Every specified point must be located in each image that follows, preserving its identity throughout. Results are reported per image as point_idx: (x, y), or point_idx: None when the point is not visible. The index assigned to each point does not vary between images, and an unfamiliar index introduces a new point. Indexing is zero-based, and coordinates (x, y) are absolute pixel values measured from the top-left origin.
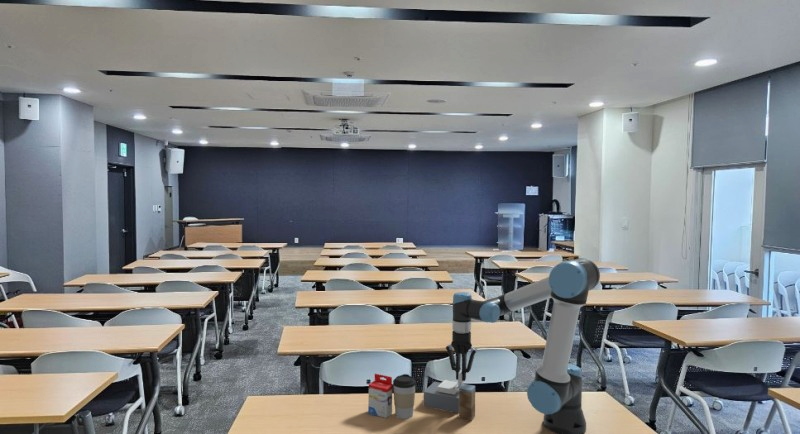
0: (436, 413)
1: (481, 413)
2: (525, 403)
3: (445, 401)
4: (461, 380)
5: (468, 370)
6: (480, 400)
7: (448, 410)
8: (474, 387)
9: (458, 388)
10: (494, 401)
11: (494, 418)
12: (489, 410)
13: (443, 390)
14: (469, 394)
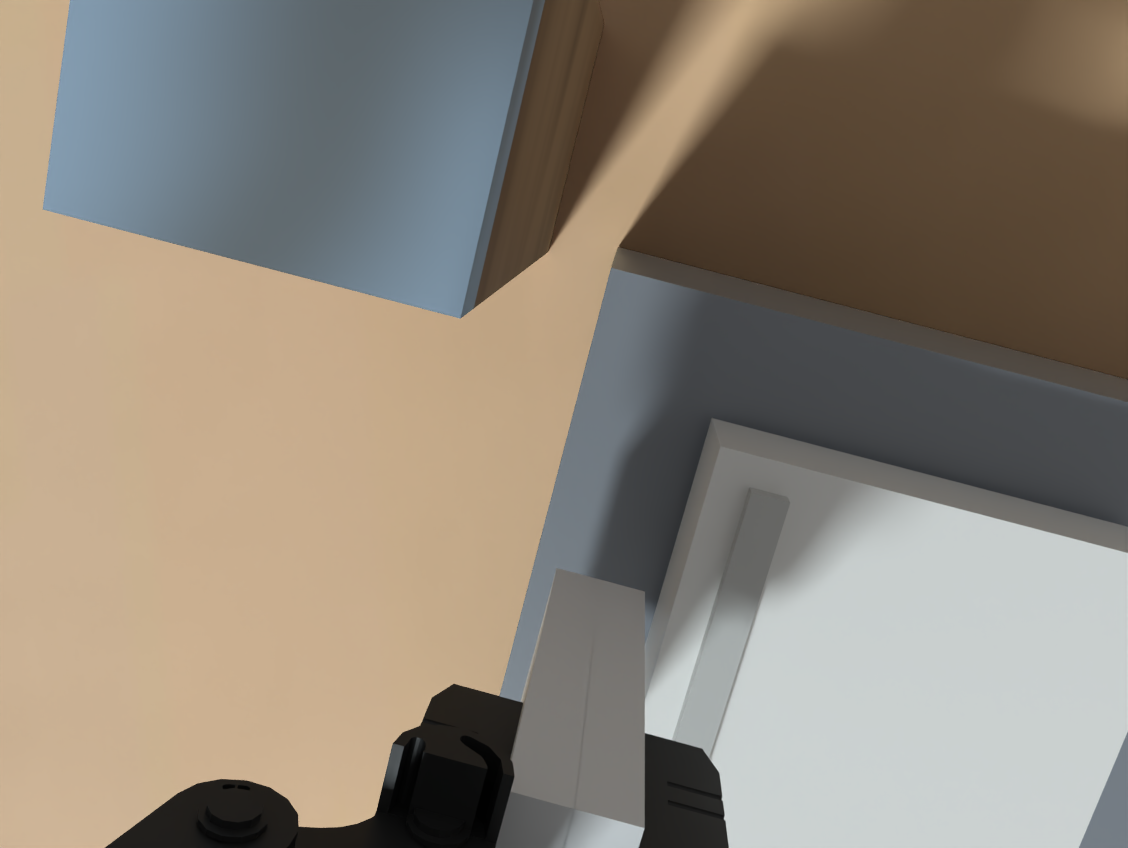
0: (1021, 168)
1: (237, 324)
2: None
3: (899, 330)
4: (539, 665)
5: (178, 832)
6: (291, 792)
7: (805, 297)
8: (65, 106)
9: (634, 592)
10: (75, 790)
11: (15, 178)
12: (121, 459)
13: (1006, 504)
14: None
